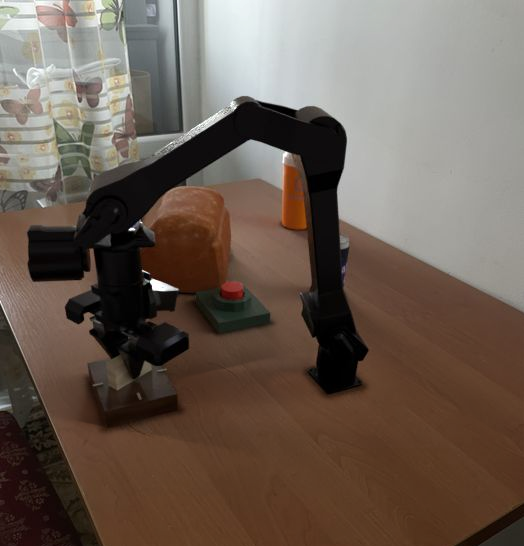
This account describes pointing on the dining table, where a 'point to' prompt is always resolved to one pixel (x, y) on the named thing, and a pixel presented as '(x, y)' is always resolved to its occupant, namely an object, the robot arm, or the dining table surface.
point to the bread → (190, 240)
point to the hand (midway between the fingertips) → (130, 374)
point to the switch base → (132, 395)
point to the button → (232, 290)
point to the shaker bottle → (292, 196)
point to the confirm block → (232, 310)
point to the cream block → (121, 372)
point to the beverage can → (344, 254)
